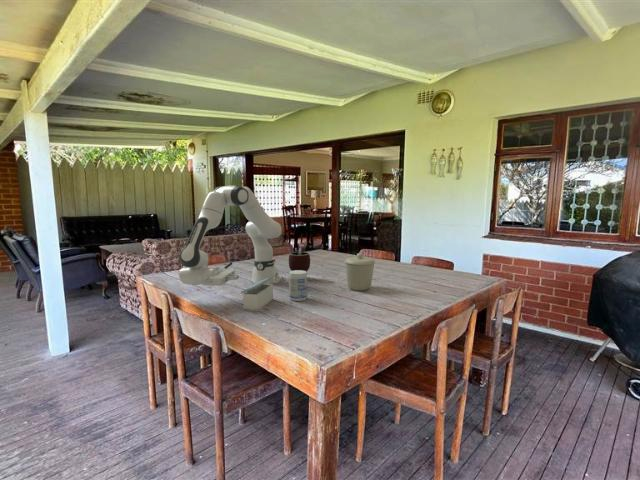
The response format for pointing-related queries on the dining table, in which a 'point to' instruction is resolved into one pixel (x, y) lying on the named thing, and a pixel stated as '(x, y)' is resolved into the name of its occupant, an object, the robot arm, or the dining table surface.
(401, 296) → the dining table surface
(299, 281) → the supplement tub
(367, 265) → the canister
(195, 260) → the robot arm
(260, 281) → the cover
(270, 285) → the beige open box
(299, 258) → the brown utensil pot
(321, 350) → the dining table surface
